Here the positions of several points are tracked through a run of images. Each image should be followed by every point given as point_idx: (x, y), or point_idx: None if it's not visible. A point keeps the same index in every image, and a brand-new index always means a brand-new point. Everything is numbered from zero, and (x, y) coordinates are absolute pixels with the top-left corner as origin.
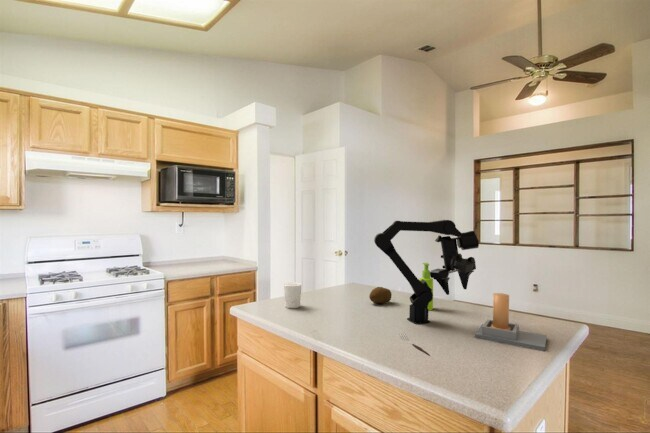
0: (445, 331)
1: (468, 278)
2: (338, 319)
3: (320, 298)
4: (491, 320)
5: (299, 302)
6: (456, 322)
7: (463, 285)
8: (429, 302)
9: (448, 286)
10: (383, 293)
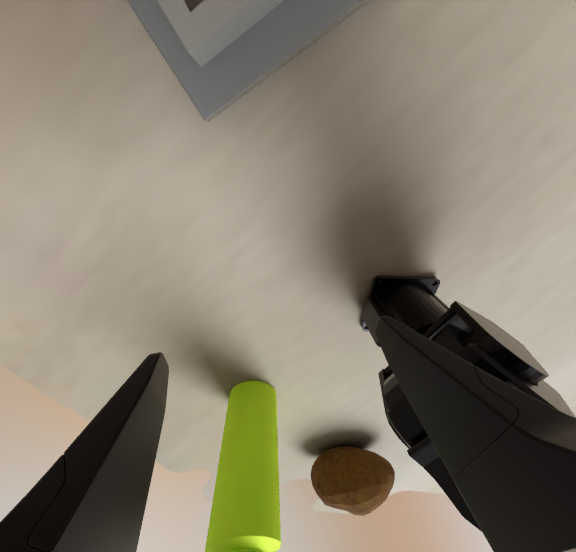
0: (424, 158)
1: (23, 501)
2: (562, 379)
3: (436, 490)
4: (175, 7)
5: None
6: (272, 239)
7: (158, 402)
8: (255, 406)
9: (447, 371)
10: (364, 480)
